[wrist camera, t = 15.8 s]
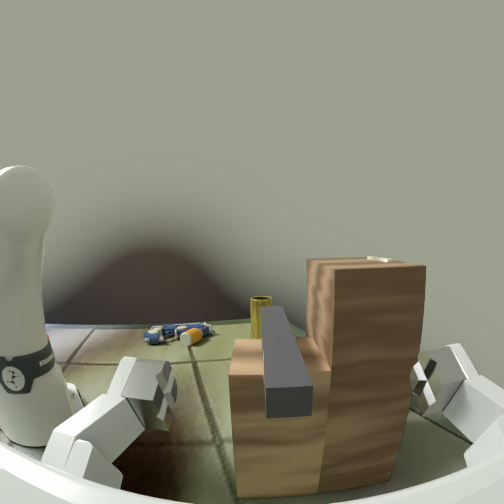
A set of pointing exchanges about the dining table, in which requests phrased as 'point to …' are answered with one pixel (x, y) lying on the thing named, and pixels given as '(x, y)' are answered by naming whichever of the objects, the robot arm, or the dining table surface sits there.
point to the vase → (258, 314)
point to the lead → (283, 368)
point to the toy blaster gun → (178, 333)
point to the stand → (334, 383)
